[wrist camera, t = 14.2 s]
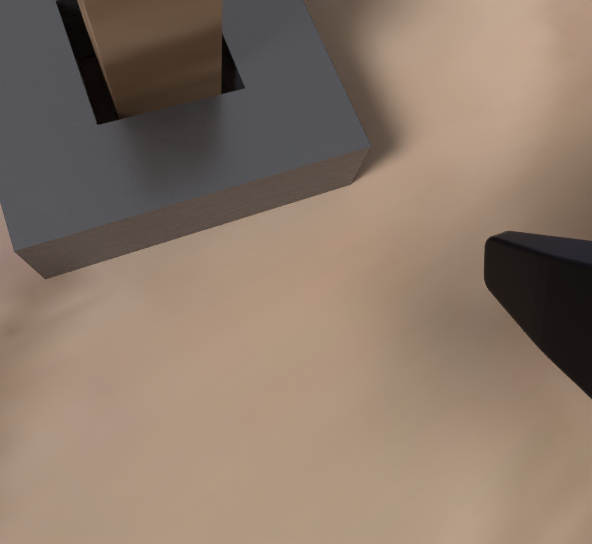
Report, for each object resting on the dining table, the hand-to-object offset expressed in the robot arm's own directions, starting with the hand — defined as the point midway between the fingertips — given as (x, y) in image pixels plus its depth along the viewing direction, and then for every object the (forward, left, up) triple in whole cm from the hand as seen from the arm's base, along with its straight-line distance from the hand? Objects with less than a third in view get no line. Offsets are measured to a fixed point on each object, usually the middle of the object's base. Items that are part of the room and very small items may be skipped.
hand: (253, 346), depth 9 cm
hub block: (+8, -12, -14) cm, 20 cm away
